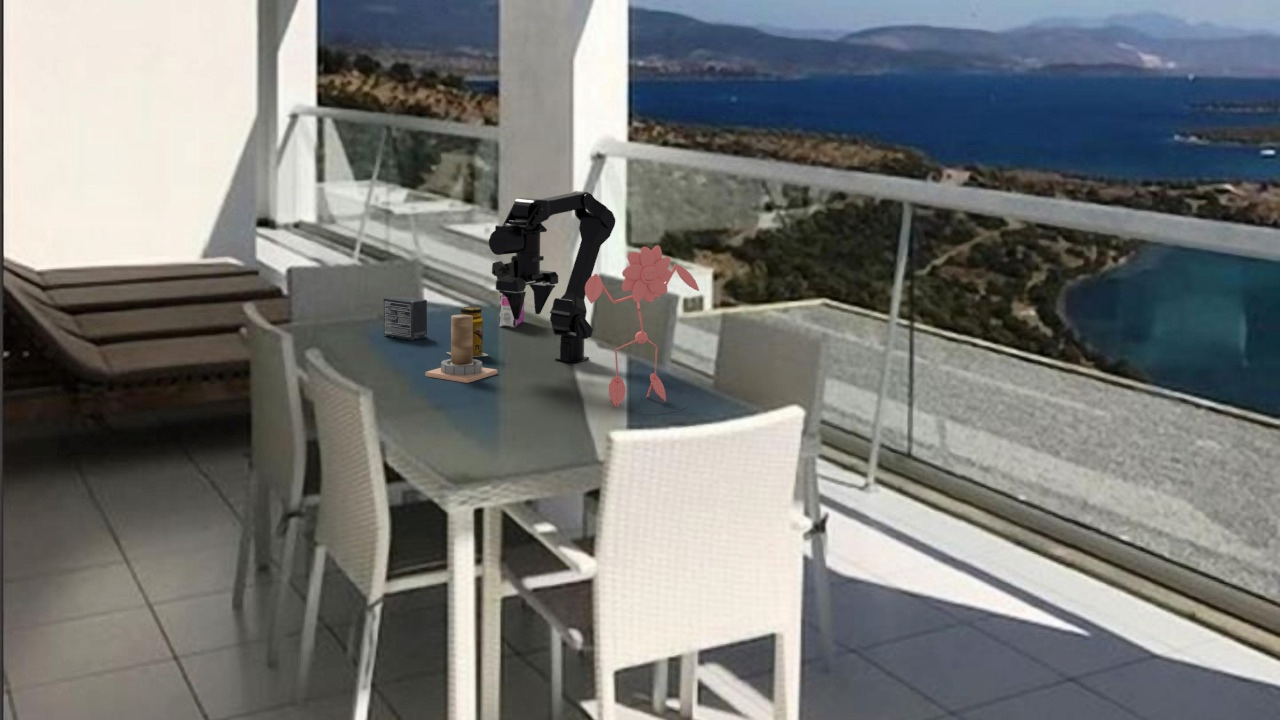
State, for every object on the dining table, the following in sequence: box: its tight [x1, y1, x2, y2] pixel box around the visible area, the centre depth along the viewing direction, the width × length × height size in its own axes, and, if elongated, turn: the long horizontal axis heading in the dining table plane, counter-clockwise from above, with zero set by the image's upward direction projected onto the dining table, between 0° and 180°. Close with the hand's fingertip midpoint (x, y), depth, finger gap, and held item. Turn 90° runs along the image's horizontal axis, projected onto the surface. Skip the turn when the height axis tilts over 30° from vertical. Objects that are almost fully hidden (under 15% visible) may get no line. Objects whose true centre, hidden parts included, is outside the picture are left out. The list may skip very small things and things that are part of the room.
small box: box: [383, 295, 428, 341], centre depth 347 cm, size 11×6×10 cm, turn 58°
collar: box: [424, 358, 498, 384], centre depth 304 cm, size 12×12×3 cm
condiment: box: [446, 306, 489, 358], centre depth 326 cm, size 7×8×12 cm
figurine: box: [585, 245, 700, 408], centre depth 275 cm, size 15×26×35 cm, turn 118°
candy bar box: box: [498, 292, 525, 329], centre depth 369 cm, size 11×5×16 cm, turn 172°
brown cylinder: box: [450, 314, 474, 366], centre depth 303 cm, size 5×5×13 cm
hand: (527, 316), depth 310 cm, fingers open, 9 cm apart
